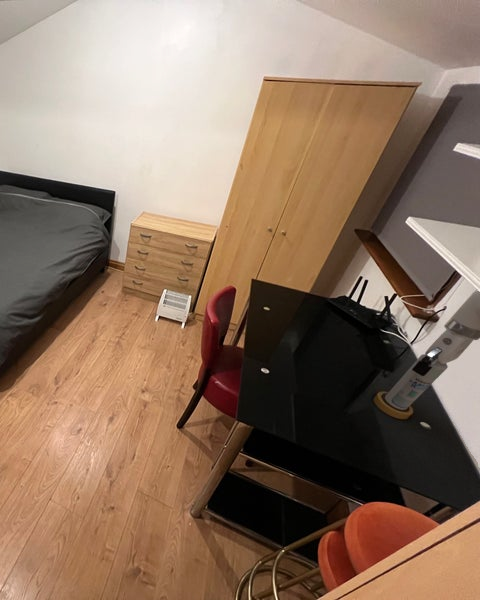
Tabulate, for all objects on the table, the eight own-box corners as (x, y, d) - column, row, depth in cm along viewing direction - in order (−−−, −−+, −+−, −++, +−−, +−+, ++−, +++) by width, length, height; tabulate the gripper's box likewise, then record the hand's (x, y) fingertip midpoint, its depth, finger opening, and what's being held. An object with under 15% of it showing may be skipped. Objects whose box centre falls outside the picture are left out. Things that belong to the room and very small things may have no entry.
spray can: (402, 398, 115) (440, 357, 104) (411, 412, 110) (452, 370, 99) (380, 392, 116) (416, 351, 105) (388, 406, 111) (427, 364, 100)
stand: (414, 414, 112) (419, 409, 111) (398, 422, 109) (403, 417, 107) (383, 393, 120) (388, 388, 119) (367, 400, 117) (371, 395, 115)
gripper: (466, 341, 89) (425, 384, 98) (495, 330, 95) (454, 371, 104) (433, 325, 95) (397, 367, 104) (463, 316, 101) (426, 356, 110)
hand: (426, 369), depth 104 cm, fingers open, 9 cm apart
